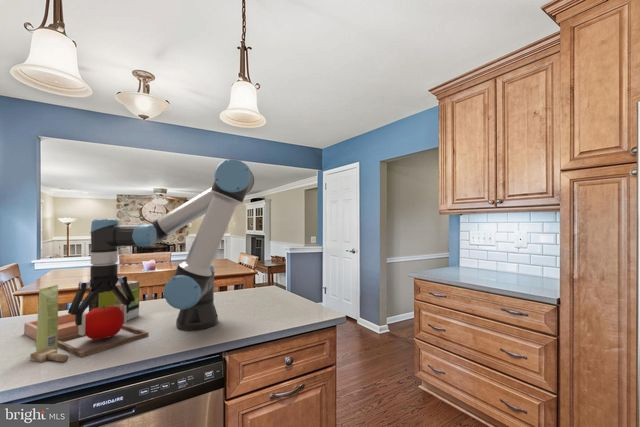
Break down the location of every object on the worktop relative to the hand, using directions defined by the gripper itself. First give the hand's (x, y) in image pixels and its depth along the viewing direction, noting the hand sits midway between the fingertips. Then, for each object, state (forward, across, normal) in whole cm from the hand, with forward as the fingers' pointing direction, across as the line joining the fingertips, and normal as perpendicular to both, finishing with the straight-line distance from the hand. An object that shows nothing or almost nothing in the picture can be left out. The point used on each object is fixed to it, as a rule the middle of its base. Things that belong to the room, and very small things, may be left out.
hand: (103, 328), depth 103 cm
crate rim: (+4, 0, 0) cm, 4 cm away
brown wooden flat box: (+3, +3, -20) cm, 21 cm away
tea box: (+4, -14, -21) cm, 26 cm away
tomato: (+3, 0, 0) cm, 3 cm away
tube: (+4, +13, -5) cm, 15 cm away
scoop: (+3, +15, +4) cm, 16 cm away
